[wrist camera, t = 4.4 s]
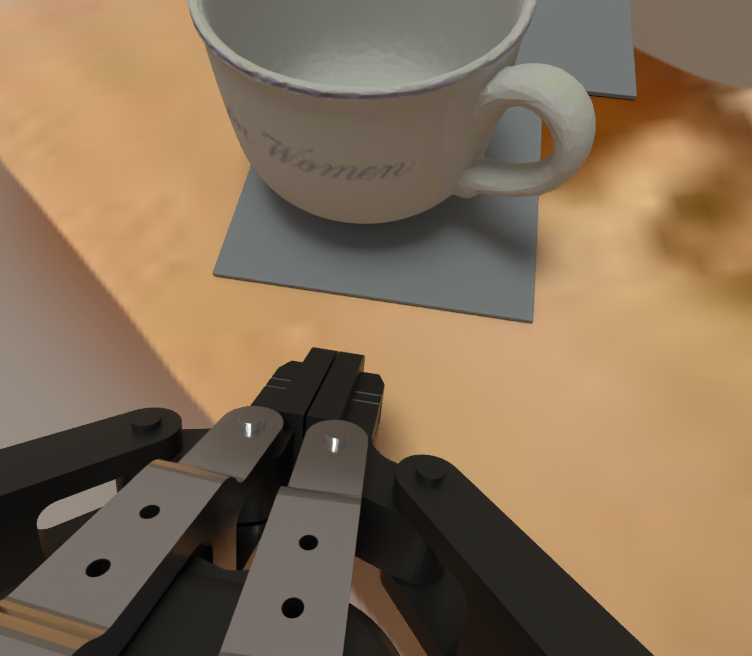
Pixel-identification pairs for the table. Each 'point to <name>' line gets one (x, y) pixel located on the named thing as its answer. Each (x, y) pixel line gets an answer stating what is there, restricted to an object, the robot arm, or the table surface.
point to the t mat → (453, 215)
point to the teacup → (387, 100)
